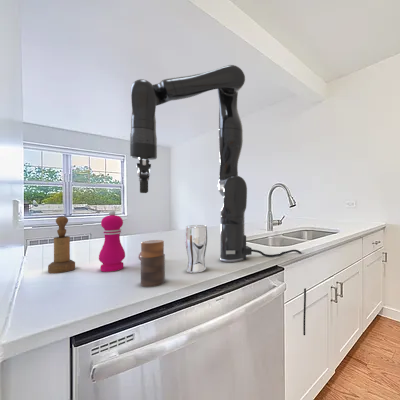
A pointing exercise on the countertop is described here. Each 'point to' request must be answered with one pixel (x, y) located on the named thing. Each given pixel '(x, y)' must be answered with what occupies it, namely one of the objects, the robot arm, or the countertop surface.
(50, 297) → the countertop surface
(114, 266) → the pepper mill
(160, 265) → the walnut chip high
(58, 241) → the wooden knobbed stamp
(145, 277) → the cylinder
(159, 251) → the brown wooden short cylinder
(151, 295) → the countertop surface
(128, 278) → the countertop surface
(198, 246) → the beer glass
